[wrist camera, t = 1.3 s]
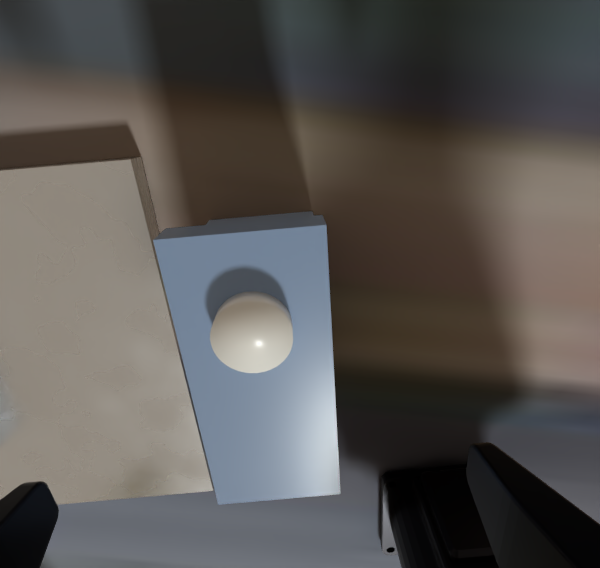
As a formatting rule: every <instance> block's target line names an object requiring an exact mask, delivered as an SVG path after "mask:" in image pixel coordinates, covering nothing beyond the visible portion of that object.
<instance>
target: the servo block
mask: <svg viewBox="0 0 600 568" xmlns="http://www.w3.org/2000/svg"><path fill="white" fill-rule="evenodd" d="M153 242H154V246H155V250H156V254H157V258H158V262H159V266H160V270H161V275H162V279H163V283H164V287H165V291H166V295H167V299H168V303H169V307H170V311H171V315H172V319H173V323H174V327H175V331H176V335H177V339H178V343H179V347H180V351H181V355H182V359H183V363H184V368H185V372H186V376H187V380H188V384H189V388H190V392H191V396H192V400H193V404H194V408H195V412H196V416H197V420H198V424H199V428H200V432H201V436H202V440H203V444H204V448H205V452H206V457H207V461H208V465H209V469H210V473H211V477H212V481H213V485H214V489H215V493H216V497H217V501H218V505H220V504H231V503H242V502H254V501H265V500H277V499H288V498H300V497H311V496H323V495H334V494H340V477H339V457H338V438H337V419H336V400H335V380H334V361H333V342H332V323H331V303H330V284H329V265H328V245H327V226H326V223H325V220H324V217H323V215H316V216H314V215H313V212H312V211H308V212H297V213H285V214H274V215H262V216H251V217H239V218H228V219H216V220H209V221H208V222H207V224H206V225H201V226H189V227H178V228H166V229H165V230H164V231H162V232H161V233H160V234H159V235H158V236H157V237H156V238H155V239H153Z"/></svg>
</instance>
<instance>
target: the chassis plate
mask: <svg viewBox="0 0 600 568" xmlns="http://www.w3.org/2000/svg"><path fill="white" fill-rule="evenodd" d="M158 235H159V230H158V226H157V221H156V217H155V213H154V209H153V205H152V200H151V196H150V192H149V188H148V184H147V179H146V175H145V171H144V167H143V163H142V158H141V157H134V158H122V159H111V160H99V161H88V162H76V163H65V164H53V165H42V166H30V167H19V168H7V169H0V500H1V499H2V498H3V497H5V496H6V495H7V494H9V493H10V492H11V491H12V490H14V489H15V488H16V487H18V486H19V485H21V484H23V483H26V482H36V481H44V482H45V483H47V485H48V487H49V489H50V491H51V493H52V495H53V497H54V499H55V501H56V503H57V504H68V503H80V502H91V501H102V500H114V499H125V498H136V497H147V496H159V495H170V494H181V493H192V492H204V491H213V489H214V485H213V481H212V477H211V473H210V469H209V465H208V461H207V457H206V452H205V448H204V444H203V440H202V436H201V432H200V428H199V424H198V420H197V416H196V412H195V408H194V404H193V400H192V396H191V392H190V388H189V384H188V380H187V376H186V372H185V368H184V363H183V359H182V355H181V351H180V347H179V343H178V339H177V335H176V331H175V327H174V323H173V319H172V315H171V311H170V307H169V303H168V299H167V295H166V291H165V287H164V283H163V279H162V275H161V270H160V266H159V262H158V258H157V254H156V250H155V246H154V242H153V239H155V238H156V237H157V236H158Z"/></svg>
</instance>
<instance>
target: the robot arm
mask: <svg viewBox="0 0 600 568" xmlns="http://www.w3.org/2000/svg"><path fill="white" fill-rule="evenodd" d="M58 511H59V510H58V505H57V503H56V501H55V499H54V497H53V495H52V493H51V491H50V489H49V487H48V485H47V483H45V482H44V481H36V482H26V483H23V484H21V485H19V486H18V487H16V488H15V489H14V490H12V491H11V492H10V493H9V494H7V495H6V496H5V497H3V498H2V499H1V500H0V568H40V565H41V563H42V560H43V557H44V555H45V552H46V549H47V546H48V544H49V541H50V538H51V535H52V533H53V530H54V527H55V524H56V522H57V518H58ZM381 547H382V551H383V553H384V554H386V555H398V556H399V559H400V563H401V567H402V568H600V524H599V523H597V522H596V521H595V520H593V519H592V518H591V517H590V516H588V515H587V514H586V513H584V512H583V511H582V510H580V509H579V508H578V507H576V506H575V505H574V504H572V503H571V502H570V501H568V500H567V499H566V498H564V497H563V496H562V495H560V494H559V493H558V492H556V491H555V490H554V489H552V488H551V487H550V486H548V485H547V484H546V483H544V482H543V481H542V480H540V479H539V478H538V477H536V476H535V475H534V474H532V473H531V472H530V471H528V470H527V469H526V468H524V467H523V466H522V465H521V464H519V463H518V462H517V461H515V460H514V459H513V458H511V457H510V456H509V455H507V454H506V453H505V452H503V451H502V450H501V449H499V448H498V447H497V446H495V445H494V444H492V443H488V442H486V443H475V444H472V445H471V446H470V448H469V454H468V461H467V465H458V466H447V467H436V468H424V469H413V470H402V471H391V472H387V473H385V474H384V475H383V476H382V479H381Z"/></svg>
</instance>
